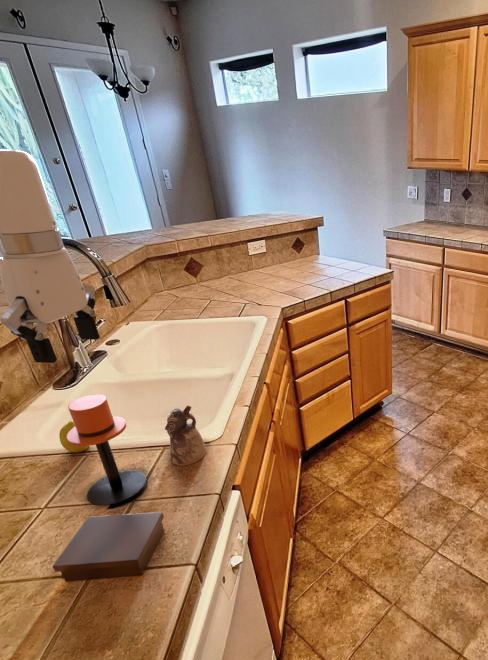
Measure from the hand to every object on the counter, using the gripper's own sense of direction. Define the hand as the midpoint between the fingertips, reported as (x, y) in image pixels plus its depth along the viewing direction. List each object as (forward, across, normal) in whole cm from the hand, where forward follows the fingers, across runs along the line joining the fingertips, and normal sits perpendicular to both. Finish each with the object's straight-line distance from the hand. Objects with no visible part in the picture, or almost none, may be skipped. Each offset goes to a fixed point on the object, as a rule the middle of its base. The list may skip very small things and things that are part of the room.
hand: (69, 349), depth 71 cm
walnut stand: (+30, +15, +9) cm, 35 cm away
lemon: (+30, -11, -16) cm, 36 cm away
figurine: (+30, -12, +8) cm, 34 cm away
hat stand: (+30, 0, 0) cm, 30 cm away
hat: (+16, 0, 0) cm, 16 cm away
